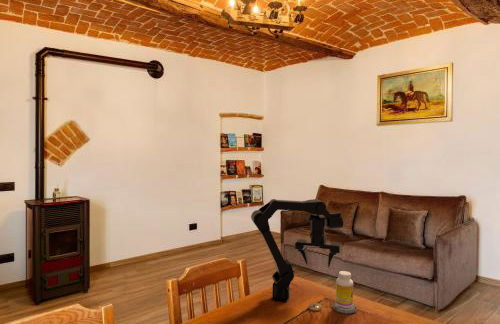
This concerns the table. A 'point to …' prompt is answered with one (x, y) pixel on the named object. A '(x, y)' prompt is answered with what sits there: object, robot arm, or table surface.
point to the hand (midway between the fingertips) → (317, 265)
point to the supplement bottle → (344, 290)
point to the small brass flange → (315, 307)
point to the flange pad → (344, 309)
